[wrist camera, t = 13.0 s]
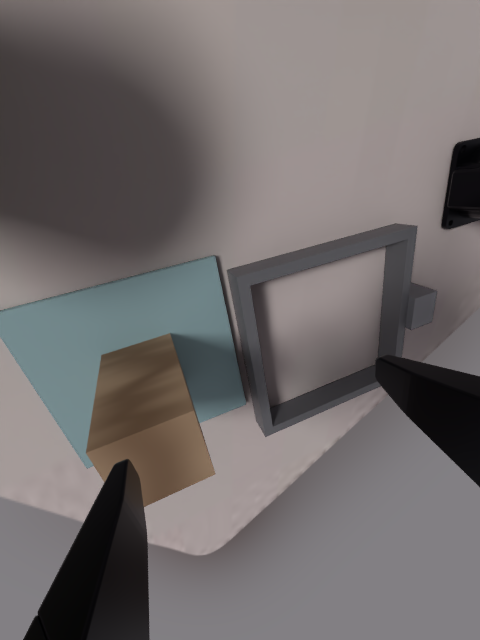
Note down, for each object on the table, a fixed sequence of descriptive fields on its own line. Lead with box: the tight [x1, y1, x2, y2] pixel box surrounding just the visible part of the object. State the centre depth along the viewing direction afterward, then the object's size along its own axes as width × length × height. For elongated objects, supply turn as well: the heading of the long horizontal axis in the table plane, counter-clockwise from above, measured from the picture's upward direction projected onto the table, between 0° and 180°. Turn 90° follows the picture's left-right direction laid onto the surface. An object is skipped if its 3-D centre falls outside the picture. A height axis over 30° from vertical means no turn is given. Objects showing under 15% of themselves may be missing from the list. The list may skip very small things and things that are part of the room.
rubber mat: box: [0, 255, 246, 468], centre depth 20 cm, size 13×13×1 cm
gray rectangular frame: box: [227, 224, 437, 437], centre depth 23 cm, size 17×15×3 cm
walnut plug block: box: [86, 333, 215, 507], centre depth 16 cm, size 4×4×8 cm
